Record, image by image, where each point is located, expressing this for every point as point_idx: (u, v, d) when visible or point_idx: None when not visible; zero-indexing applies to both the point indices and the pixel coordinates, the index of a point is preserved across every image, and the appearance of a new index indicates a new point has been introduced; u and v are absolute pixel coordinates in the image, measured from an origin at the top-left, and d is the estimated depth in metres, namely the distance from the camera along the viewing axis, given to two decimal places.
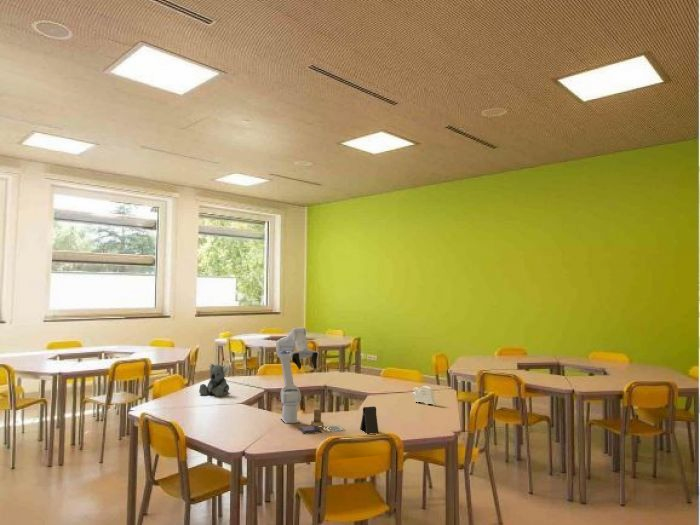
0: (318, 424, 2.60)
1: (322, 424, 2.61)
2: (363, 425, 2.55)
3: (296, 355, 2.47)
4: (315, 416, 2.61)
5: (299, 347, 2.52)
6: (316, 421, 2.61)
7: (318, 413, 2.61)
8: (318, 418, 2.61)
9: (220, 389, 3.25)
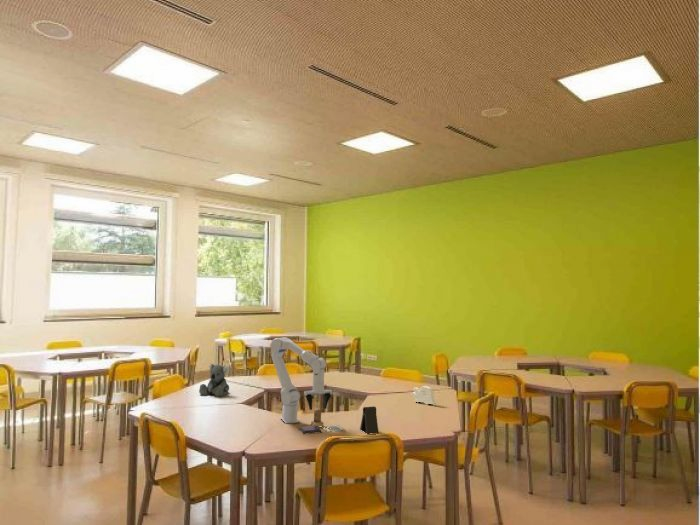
0: (318, 424, 2.60)
1: (322, 424, 2.61)
2: (363, 425, 2.55)
3: (310, 398, 2.59)
4: (315, 416, 2.61)
5: (315, 387, 2.61)
6: (316, 421, 2.61)
7: (318, 413, 2.61)
8: (318, 418, 2.61)
9: (220, 389, 3.25)
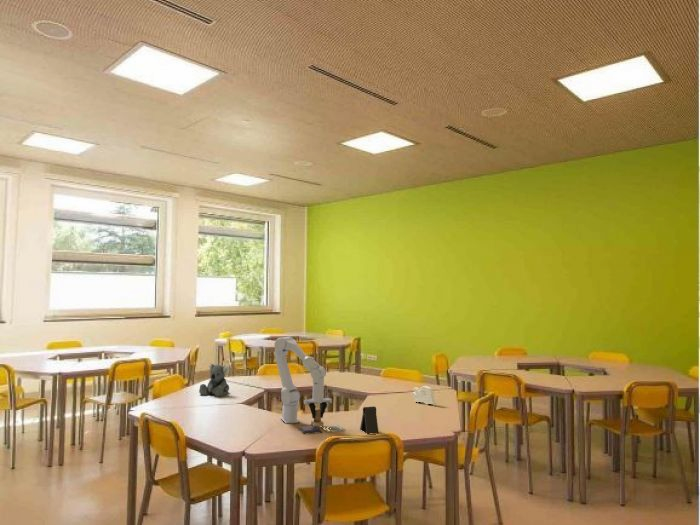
0: (318, 424, 2.60)
1: (322, 424, 2.61)
2: (363, 425, 2.55)
3: (313, 407, 2.60)
4: (315, 416, 2.61)
5: (315, 396, 2.61)
6: (316, 421, 2.61)
7: (318, 413, 2.61)
8: (318, 418, 2.61)
9: (220, 389, 3.25)
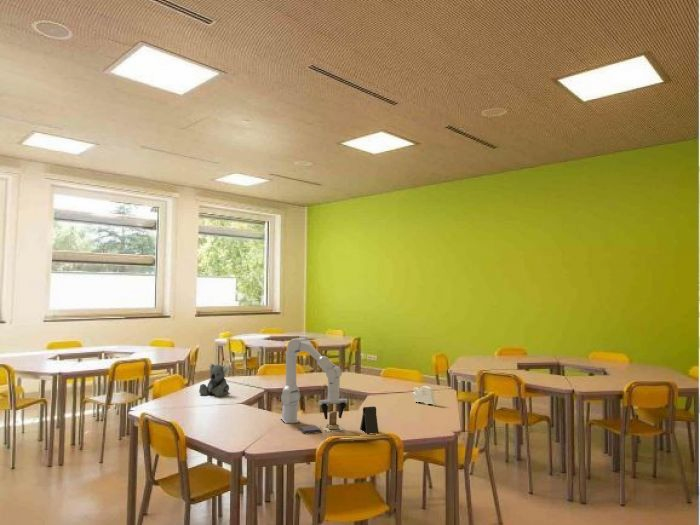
0: (333, 427, 2.55)
1: (337, 427, 2.55)
2: (363, 425, 2.55)
3: (325, 408, 2.54)
4: (330, 418, 2.56)
5: (330, 396, 2.55)
6: (331, 424, 2.56)
7: (333, 415, 2.56)
8: (333, 421, 2.56)
9: (220, 389, 3.25)
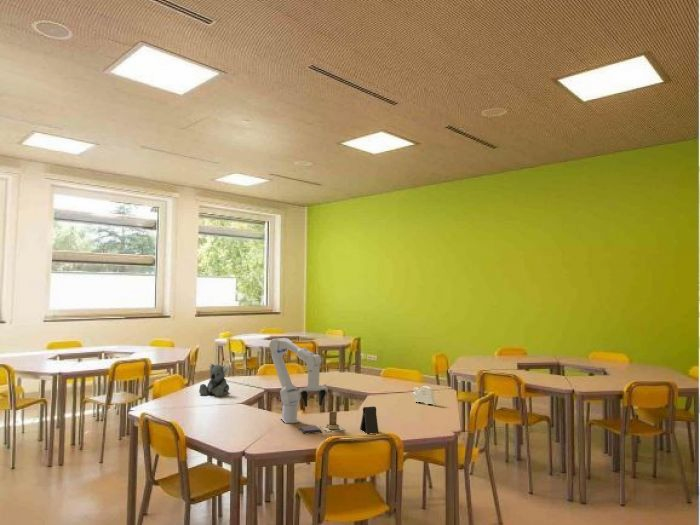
0: (333, 427, 2.55)
1: (337, 427, 2.55)
2: (363, 425, 2.55)
3: (305, 395, 2.57)
4: (330, 418, 2.56)
5: (310, 383, 2.59)
6: (331, 424, 2.56)
7: (333, 415, 2.56)
8: (333, 421, 2.56)
9: (220, 389, 3.25)
